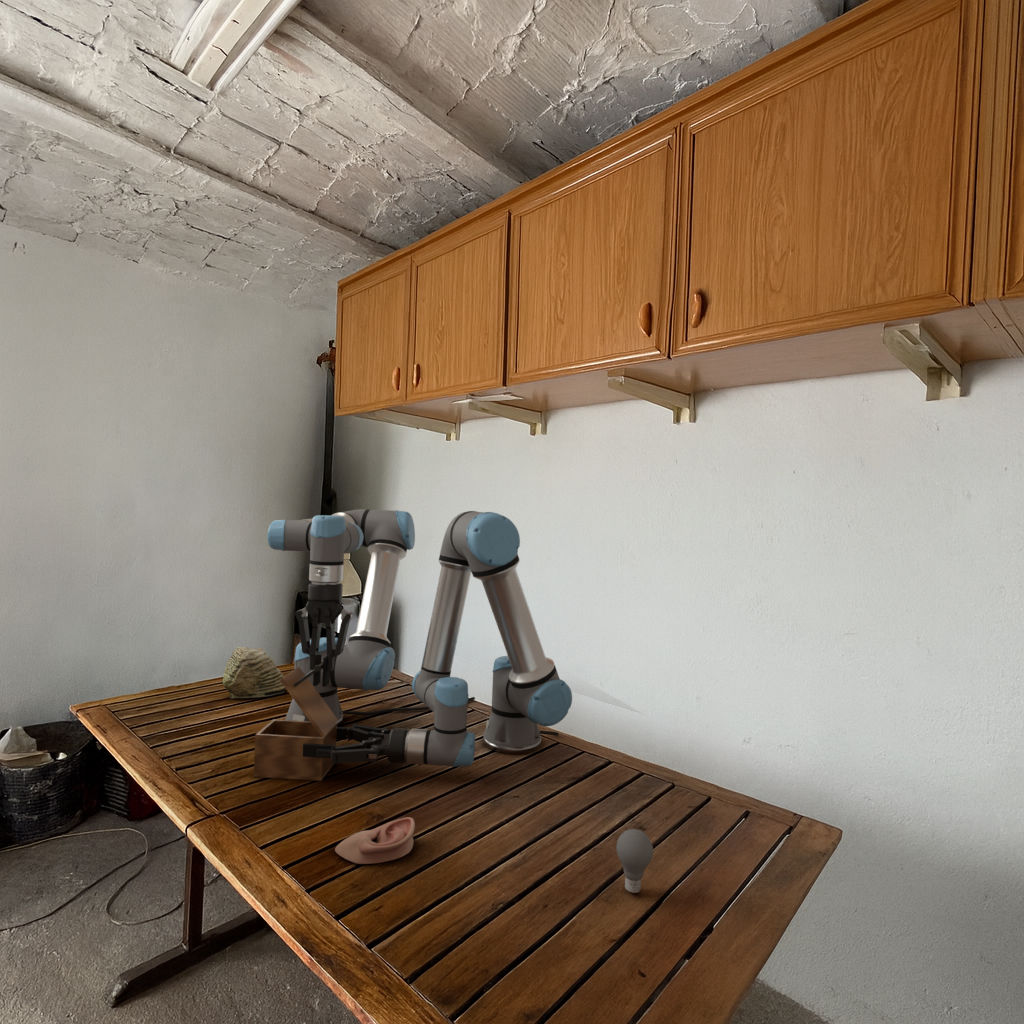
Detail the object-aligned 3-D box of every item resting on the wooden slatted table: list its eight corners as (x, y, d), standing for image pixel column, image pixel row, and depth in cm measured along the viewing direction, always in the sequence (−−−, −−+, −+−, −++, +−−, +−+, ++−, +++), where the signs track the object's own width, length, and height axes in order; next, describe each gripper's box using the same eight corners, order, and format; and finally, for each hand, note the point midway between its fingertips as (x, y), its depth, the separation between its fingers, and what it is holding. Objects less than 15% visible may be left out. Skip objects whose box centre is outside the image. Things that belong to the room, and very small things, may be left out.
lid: (279, 680, 141) (309, 658, 141) (296, 668, 151) (323, 647, 151) (321, 737, 141) (351, 715, 141) (335, 721, 151) (363, 701, 151)
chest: (253, 776, 142) (255, 734, 142) (271, 758, 152) (273, 719, 151) (321, 780, 141) (323, 738, 141) (335, 762, 151) (336, 722, 151)
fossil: (218, 695, 195) (220, 647, 195) (278, 685, 208) (279, 640, 207) (228, 703, 189) (230, 653, 188) (289, 692, 201) (290, 645, 201)
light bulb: (610, 879, 108) (613, 822, 108) (644, 879, 109) (647, 822, 109) (619, 902, 102) (622, 840, 102) (655, 901, 103) (658, 840, 103)
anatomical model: (327, 836, 111) (356, 806, 122) (326, 858, 111) (355, 826, 122) (398, 848, 108) (421, 815, 119) (397, 871, 108) (420, 836, 119)
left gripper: (288, 582, 142) (283, 687, 142) (352, 586, 141) (347, 691, 142) (301, 578, 150) (296, 678, 150) (361, 582, 149) (356, 681, 149)
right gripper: (396, 784, 134) (292, 778, 135) (415, 743, 157) (326, 738, 158) (397, 749, 134) (294, 743, 135) (417, 713, 157) (328, 708, 157)
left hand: (321, 684), depth 146 cm, fingers closed on lid, 1 cm apart
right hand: (311, 740), depth 146 cm, fingers closed on chest, 10 cm apart
